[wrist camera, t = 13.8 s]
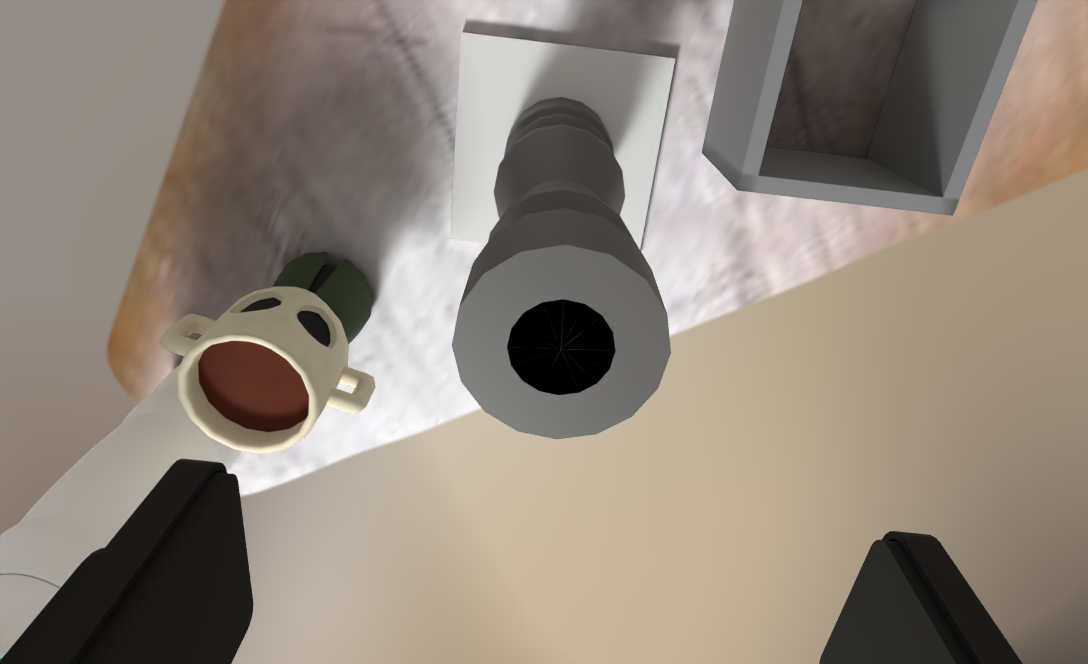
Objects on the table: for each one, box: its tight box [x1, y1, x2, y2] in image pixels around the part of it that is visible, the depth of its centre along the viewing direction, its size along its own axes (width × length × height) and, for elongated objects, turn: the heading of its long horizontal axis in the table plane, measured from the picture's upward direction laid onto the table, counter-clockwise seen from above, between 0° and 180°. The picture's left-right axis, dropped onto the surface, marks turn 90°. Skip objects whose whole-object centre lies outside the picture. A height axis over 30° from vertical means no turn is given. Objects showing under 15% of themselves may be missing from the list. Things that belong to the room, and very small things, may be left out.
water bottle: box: [0, 365, 241, 660], centre depth 37 cm, size 7×7×25 cm
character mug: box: [160, 252, 375, 454], centre depth 39 cm, size 11×7×13 cm, turn 68°
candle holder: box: [452, 97, 671, 439], centre depth 29 cm, size 6×6×25 cm
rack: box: [702, 0, 1038, 216], centre depth 33 cm, size 16×11×9 cm, turn 174°
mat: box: [450, 32, 675, 249], centre depth 40 cm, size 12×12×1 cm
